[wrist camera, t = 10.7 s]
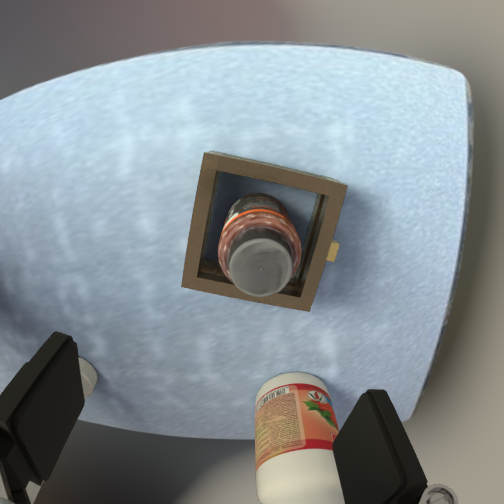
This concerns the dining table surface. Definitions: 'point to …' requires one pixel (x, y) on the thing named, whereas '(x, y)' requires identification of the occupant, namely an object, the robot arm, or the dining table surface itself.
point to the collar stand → (316, 243)
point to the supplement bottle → (259, 245)
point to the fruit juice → (295, 442)
